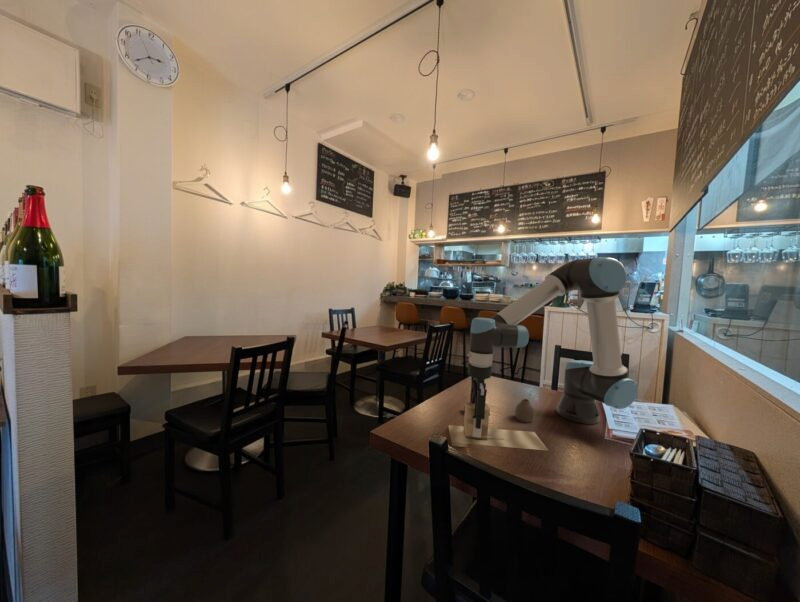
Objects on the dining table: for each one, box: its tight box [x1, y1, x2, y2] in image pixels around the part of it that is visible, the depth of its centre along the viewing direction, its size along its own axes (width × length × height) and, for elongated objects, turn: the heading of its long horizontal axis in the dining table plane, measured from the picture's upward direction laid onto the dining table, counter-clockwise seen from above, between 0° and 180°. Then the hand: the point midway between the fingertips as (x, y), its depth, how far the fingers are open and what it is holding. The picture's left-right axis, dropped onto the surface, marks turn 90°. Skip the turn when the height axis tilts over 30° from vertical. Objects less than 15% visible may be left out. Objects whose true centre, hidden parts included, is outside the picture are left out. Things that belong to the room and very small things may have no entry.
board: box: [448, 424, 549, 451], centre depth 104 cm, size 30×12×1 cm, turn 87°
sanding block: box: [463, 402, 490, 440], centre depth 104 cm, size 7×5×10 cm
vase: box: [514, 398, 535, 424], centre depth 119 cm, size 7×7×9 cm
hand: (475, 432), depth 104 cm, fingers closed on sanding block, 5 cm apart
